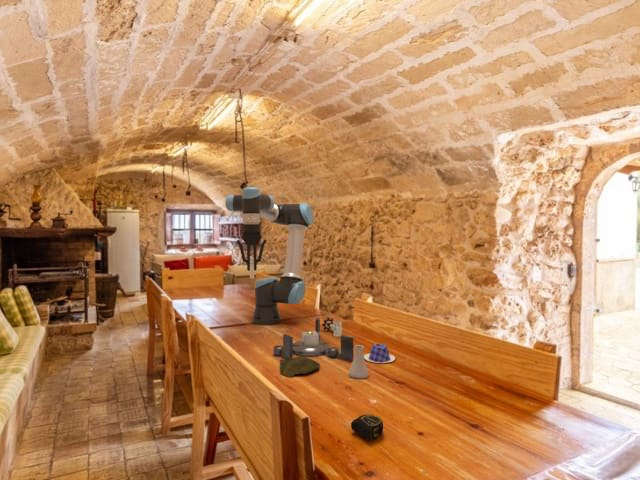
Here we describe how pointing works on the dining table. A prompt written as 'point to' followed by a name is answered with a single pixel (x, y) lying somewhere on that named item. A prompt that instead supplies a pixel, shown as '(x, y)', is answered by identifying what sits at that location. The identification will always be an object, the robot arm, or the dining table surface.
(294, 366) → the pottery fragment
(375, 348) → the pudding
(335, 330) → the valve
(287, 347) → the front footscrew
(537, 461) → the dining table surface
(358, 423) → the tape measure
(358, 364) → the flask
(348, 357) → the tribrach
